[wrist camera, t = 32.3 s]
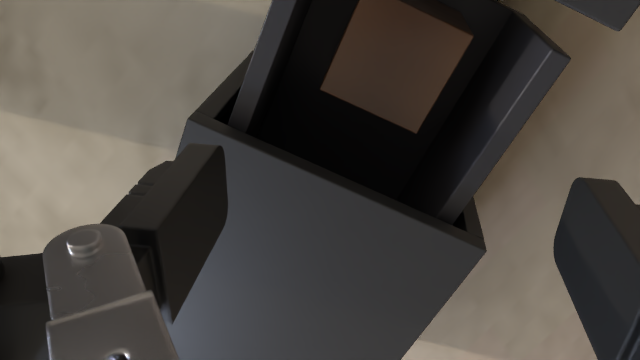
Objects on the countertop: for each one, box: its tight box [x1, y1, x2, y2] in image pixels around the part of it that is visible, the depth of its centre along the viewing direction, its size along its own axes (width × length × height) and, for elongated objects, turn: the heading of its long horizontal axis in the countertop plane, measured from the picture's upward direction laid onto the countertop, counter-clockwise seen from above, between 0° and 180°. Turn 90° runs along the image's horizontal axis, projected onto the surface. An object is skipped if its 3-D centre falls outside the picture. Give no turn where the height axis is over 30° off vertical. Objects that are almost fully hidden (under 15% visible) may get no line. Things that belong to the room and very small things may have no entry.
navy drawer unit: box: [166, 51, 487, 360], centre depth 27 cm, size 16×13×10 cm
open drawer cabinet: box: [228, 0, 640, 225], centre depth 21 cm, size 19×11×8 cm, turn 157°
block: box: [320, 0, 474, 134], centre depth 21 cm, size 4×4×4 cm
